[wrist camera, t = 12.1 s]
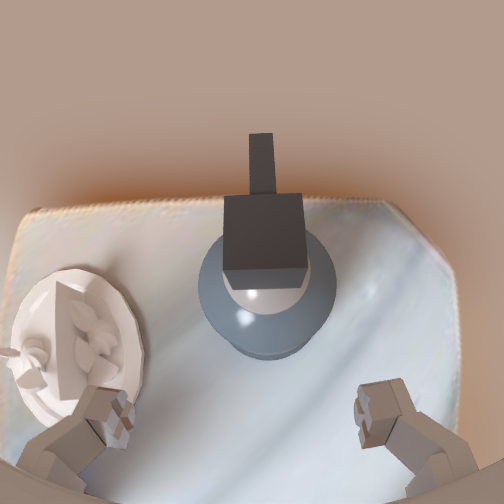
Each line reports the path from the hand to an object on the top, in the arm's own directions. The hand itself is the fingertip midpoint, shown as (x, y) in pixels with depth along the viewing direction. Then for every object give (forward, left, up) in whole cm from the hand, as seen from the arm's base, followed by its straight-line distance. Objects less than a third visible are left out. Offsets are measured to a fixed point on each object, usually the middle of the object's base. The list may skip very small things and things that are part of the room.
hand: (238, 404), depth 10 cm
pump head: (+5, -9, -9) cm, 14 cm away
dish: (+23, +14, -28) cm, 39 cm away
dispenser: (+3, -7, -27) cm, 28 cm away
